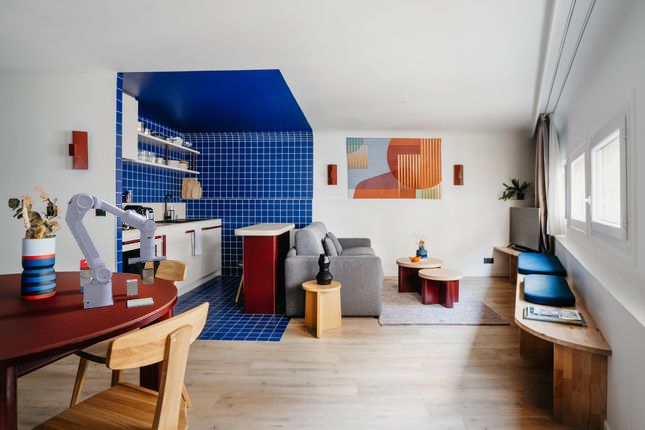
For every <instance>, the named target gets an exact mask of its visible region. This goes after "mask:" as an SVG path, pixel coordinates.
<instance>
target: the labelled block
mask: <svg viewBox="0 0 645 430" xmlns="http://www.w3.org/2000/svg"><path fill="white" fill-rule="evenodd" d="M154 280H155V279H154V270H153V267H147V268H143V280H142V285H153V284H155V283H154V282H155V281H154Z"/></svg>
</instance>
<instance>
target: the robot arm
mask: <svg viewBox="0 0 645 430" xmlns="http://www.w3.org/2000/svg"><path fill="white" fill-rule="evenodd" d="M91 209H94V210H95V209H96V210H98V209H99V210H101V211H104V212H107V213H109V214H111V215H114V216H116V217H118V218H120V221H121V223H123V224H126V225H128V226H129V227H132V228H134V229H138V230H139V234H140V235H139V250H140V251H139V256H140V257H132V258H130V257H129V258H128V261H127V262H128V265H130V264H135V266H136V268H137V270H138V272H139V276H140V280H141V281H143V269H144V268H143V267H144V266H143V263H152V268H153V270H154V280H156V275H157V273H158V269H159V267H160V265H161V262H167V256H166V255H163V256H161V255H160V256H156V230H157V228H158V226H157V223H156V222H155V221H154V220H153V219H150V218H149V219H148V217H147V216H146V215H141V213H140V214H139V213H137V211H136V210H135V209H127V210H124V209H122V208H120V207H118V206H116V205H115V204H112V203H110V202H109V201H107V200H104V199H103V198H100V197H97V196H94V195H91V194H88V193H83V192H82V193H76V194H73V195H72V197H70V199H69V201H68V202H67V208H66V213H65V218H64V220H65V222H66V225H67V227H68V229H69V231H70V232H71V234H72V236H73V238H74V240H75V241H76V243H77V246H78V247H79V249H80V251H81V253H82V255H83V257H84V259H86V261H85V262H87V264H88V266H89V274H90V276H91V277H92V279H91V281H90V283H87V284H84V293H83V298H82V299H83V303H82V304H83V309H93V308H101V307H102V308H103V307H109V306H113V305H114V299H113V292H112V291H113V290H112V289H113V287H112V286H113V285H112V276H113V271H112V270H113V269H111V268H110V267H109V266H107V265H106V263H105V261H104V260H103V259H102V257H101V255H100V253H99V251H98V249H97V248H96V246H95V243H94V242H93V240H92V238H91V236H90V234H89V232H88V229H87V227H86V226H85V224H84V222H83V219H84V217H85V216H86V213H87V212H89V211H90V210H91Z"/></svg>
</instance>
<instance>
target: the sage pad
mask: <svg viewBox="0 0 645 430" xmlns="http://www.w3.org/2000/svg"><path fill="white" fill-rule="evenodd" d="M153 305H155V303H154V300H153V297H146V298H140V299H139V298H138V299H131V300H129V299H128V300H127V308H128V309H130V308H137V307H145V306H153Z"/></svg>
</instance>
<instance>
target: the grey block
mask: <svg viewBox="0 0 645 430" xmlns="http://www.w3.org/2000/svg"><path fill="white" fill-rule="evenodd" d="M138 289H139V288H138V279H137V278H135V279H134V278H133V279H126V297H129V295H130V296H137V295H138V293H139V292H138V291H139V290H138Z"/></svg>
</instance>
